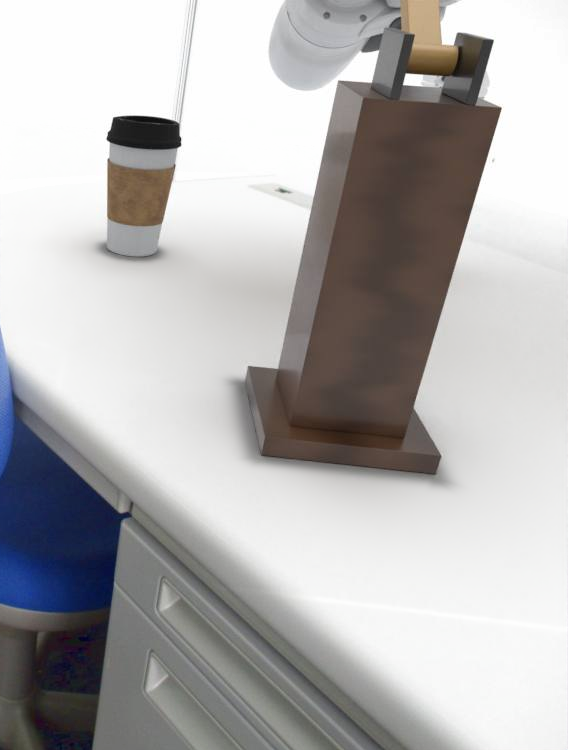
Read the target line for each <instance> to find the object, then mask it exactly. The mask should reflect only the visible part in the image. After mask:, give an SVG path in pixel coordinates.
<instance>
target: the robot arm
mask: <svg viewBox="0 0 568 750" xmlns="http://www.w3.org/2000/svg"><path fill="white" fill-rule="evenodd" d="M460 1H461V0H439V10H440V23H441V22H442V21H443V20H444V18H445V15H446V11H447V7H449V6H452V5H454V4H457V3H458V2H460ZM385 27H387V28H395V29H399V30H402V25H401V5H400V0H283V2H282V4H281V6H280V7H279V10H278V12H277V14H276V17H275V20H274V23H273V26H272V29H271V33H270V35H269V41H268V53H267V54H268V60H269V64H270V67H271V70H272V72H273V73H274V74H275V76H276V78H278V79H279V81H281V82H282V83H283V84H285V86H287V87H289V88H292V89H294V90H297V91H303V92H310V91H316V90H319V89H322V88H324V87H325V86H327V85H329V84H330V83H331V82H333V81H334V80H335V79H337V77H338V76H339V75H340V74H341V73H342V72H344V71H345V69H346V68H347V67H348V66H349V65H350V64H351V63H352V61H353V60H354V59H355V57H356V56H357V55H358V54H359V53H364V54H366V53H367V54H368V53H373V52H377V51H378V52H379V49H380V45H381V40H382V36H383V31H384V28H385Z"/></svg>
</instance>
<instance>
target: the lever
mask: <svg viewBox="0 0 568 750" xmlns="http://www.w3.org/2000/svg"><path fill="white" fill-rule="evenodd" d="M400 5H401V25H402V31H405V32H409V33H412V34H415V37H414V42H413V46H412V50H411V54H410V58H409V62H408V66H407V70H406V75H419V76H420V75H421V76H423V75H433V76H447V77H449V76H451V75H452V73H453V72H454V70H455V67H456V64H457V60H458V47H457V46H455V45H454V44H443V39H442V25H441V22H440V10H439V0H400Z"/></svg>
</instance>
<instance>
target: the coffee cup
mask: <svg viewBox="0 0 568 750" xmlns="http://www.w3.org/2000/svg"><path fill="white" fill-rule="evenodd" d="M180 129H181V128H180V123H179V122H178V121H176V120H173V119H169V118H165V117H158V116H150V115H118V116H114V117H112V121H111V125H110V129H109V130H108V131H107V135H106V141H107V142H109V153H108V154H109V155H108V158H107V164H106V165H107V167H106V168H107V170H106V171H107V172H106V173H107V177H106V179H107V180H106V181H107V182H106V183H107V184H106V187H107V188H106V191H107V192H106V202H107V203H106V218H107V219H106V220H107V222H106V248H107V250H108V251H110V252H112V253H115V254H116V255H121V256H125V257H137V258H138V257H149V256H153V255H154V254H156V253H157V251H158V247H159V241H160V237H161V232H162V226H163V222H164V219H165V214H166V210H167V205H168V201H169V197H170V193H171V189H172V183H173V179H174V175H175V172H176V166H177V165H176V163H175V162H176V158H177V153H178V149H179V148H181V147H182V137H181V134H180V132H181V131H180Z"/></svg>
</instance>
